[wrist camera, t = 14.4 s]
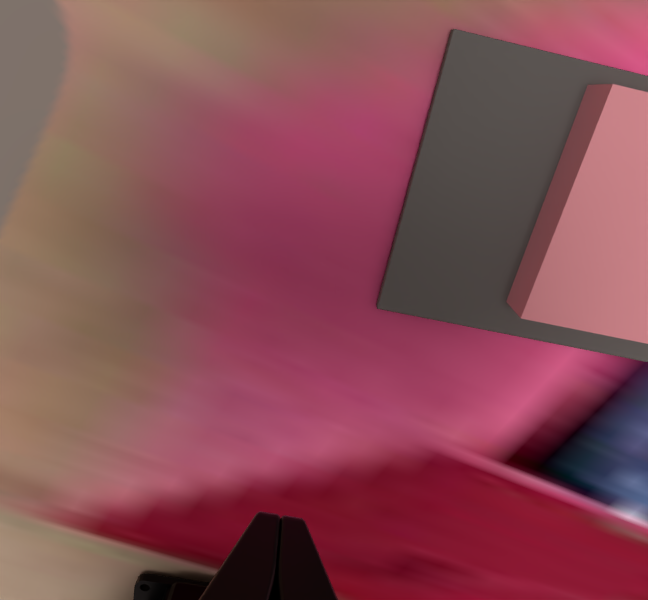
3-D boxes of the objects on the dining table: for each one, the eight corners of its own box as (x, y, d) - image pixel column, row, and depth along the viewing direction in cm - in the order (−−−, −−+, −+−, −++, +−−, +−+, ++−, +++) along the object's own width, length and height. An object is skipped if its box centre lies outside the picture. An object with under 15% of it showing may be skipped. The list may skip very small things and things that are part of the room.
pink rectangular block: (506, 301, 20) (671, 335, 20) (520, 318, 18) (698, 353, 19) (587, 84, 17) (778, 130, 17) (613, 83, 15) (821, 134, 16)
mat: (653, 359, 21) (659, 364, 21) (376, 304, 20) (377, 308, 20) (782, 110, 18) (792, 111, 17) (451, 30, 17) (453, 28, 16)
